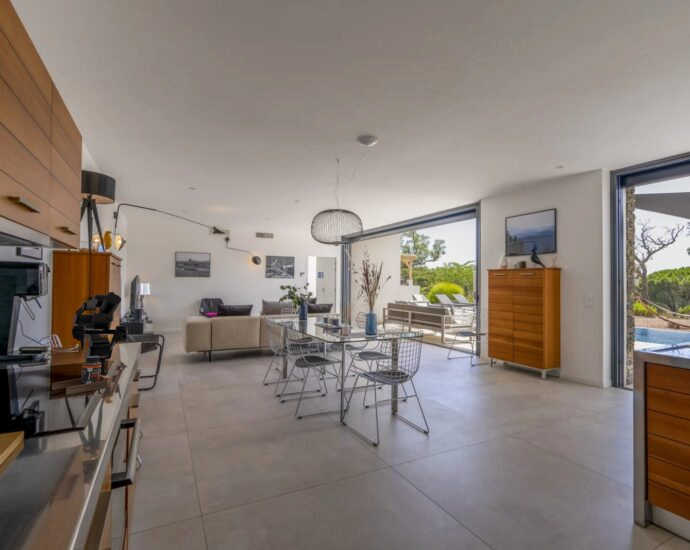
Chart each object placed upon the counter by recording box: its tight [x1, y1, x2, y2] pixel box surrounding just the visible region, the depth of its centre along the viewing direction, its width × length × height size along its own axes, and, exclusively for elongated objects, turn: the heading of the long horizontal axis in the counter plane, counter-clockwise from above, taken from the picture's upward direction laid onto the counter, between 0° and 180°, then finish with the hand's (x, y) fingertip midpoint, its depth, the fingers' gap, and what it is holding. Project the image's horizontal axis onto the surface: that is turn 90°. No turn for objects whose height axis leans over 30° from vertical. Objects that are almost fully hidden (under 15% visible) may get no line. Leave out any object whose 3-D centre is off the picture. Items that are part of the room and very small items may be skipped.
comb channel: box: [51, 374, 111, 396], centre depth 135 cm, size 11×14×4 cm
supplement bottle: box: [80, 356, 101, 385], centre depth 138 cm, size 6×6×11 cm
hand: (96, 349), depth 143 cm, fingers open, 9 cm apart
